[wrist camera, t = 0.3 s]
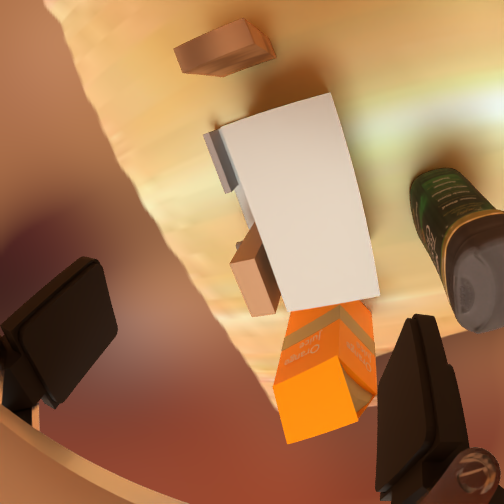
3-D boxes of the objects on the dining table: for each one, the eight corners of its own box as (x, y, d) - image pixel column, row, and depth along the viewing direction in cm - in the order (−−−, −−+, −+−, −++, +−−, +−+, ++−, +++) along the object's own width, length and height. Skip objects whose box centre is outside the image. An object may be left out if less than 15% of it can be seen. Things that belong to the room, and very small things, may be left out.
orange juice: (372, 313, 43) (379, 436, 26) (323, 341, 47) (308, 458, 30) (339, 276, 42) (334, 400, 24) (289, 308, 46) (260, 427, 28)
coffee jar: (401, 175, 34) (453, 247, 18) (460, 160, 31) (545, 220, 15) (416, 248, 37) (456, 352, 21) (470, 234, 34) (535, 326, 18)
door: (265, 31, 30) (239, 8, 20) (276, 57, 31) (253, 43, 22) (213, 51, 32) (169, 39, 22) (223, 77, 33) (182, 73, 24)
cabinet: (330, 94, 32) (330, 92, 21) (369, 240, 38) (380, 295, 28) (215, 130, 36) (168, 147, 26) (264, 262, 43) (240, 318, 33)
